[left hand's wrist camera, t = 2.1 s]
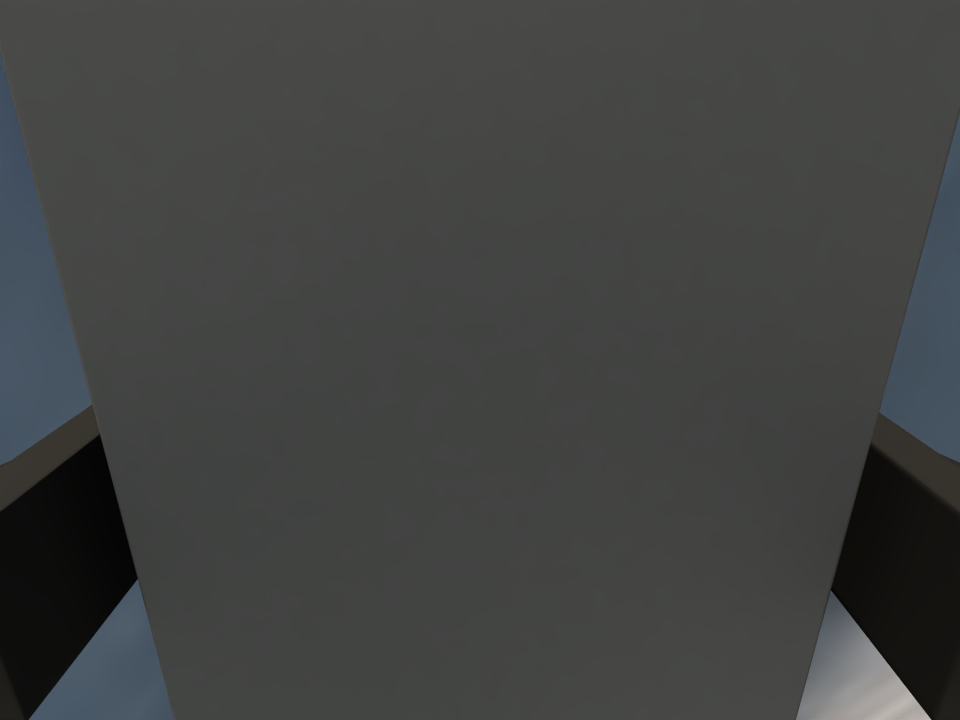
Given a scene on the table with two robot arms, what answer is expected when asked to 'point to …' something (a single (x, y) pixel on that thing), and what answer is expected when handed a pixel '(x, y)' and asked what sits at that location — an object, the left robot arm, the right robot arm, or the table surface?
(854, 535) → the left robot arm
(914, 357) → the table surface
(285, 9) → the thick board
